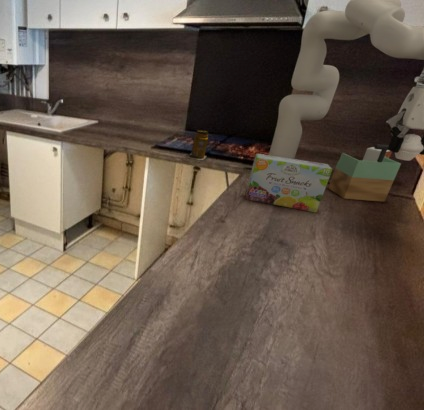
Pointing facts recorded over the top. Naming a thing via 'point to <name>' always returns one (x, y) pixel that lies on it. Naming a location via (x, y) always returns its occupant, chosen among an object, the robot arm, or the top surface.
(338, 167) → the block
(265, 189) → the snack box
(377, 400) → the top surface
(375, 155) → the small box
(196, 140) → the condiment
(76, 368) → the top surface
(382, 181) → the stand
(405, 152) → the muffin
